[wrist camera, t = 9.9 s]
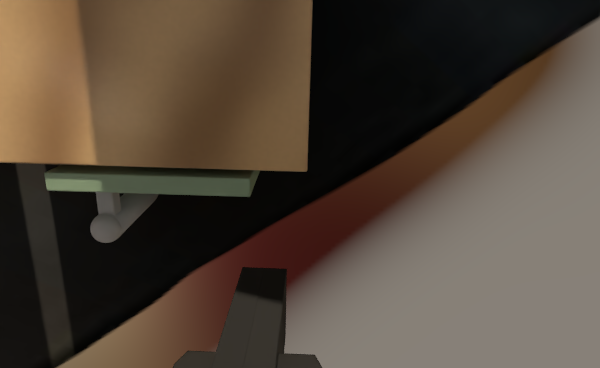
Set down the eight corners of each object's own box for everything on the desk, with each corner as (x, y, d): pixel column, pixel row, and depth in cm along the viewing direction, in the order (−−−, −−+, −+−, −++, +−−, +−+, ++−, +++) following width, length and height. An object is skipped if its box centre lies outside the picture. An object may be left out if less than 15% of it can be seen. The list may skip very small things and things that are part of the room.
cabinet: (38, 112, 28) (-144, 158, 17) (3, -95, 25) (-260, -215, 13) (307, 120, 28) (307, 172, 17) (314, -88, 24) (319, -203, 13)
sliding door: (149, 180, 29) (57, 258, 18) (144, 123, 28) (43, 172, 17) (272, 183, 29) (250, 264, 18) (272, 127, 28) (249, 178, 17)
